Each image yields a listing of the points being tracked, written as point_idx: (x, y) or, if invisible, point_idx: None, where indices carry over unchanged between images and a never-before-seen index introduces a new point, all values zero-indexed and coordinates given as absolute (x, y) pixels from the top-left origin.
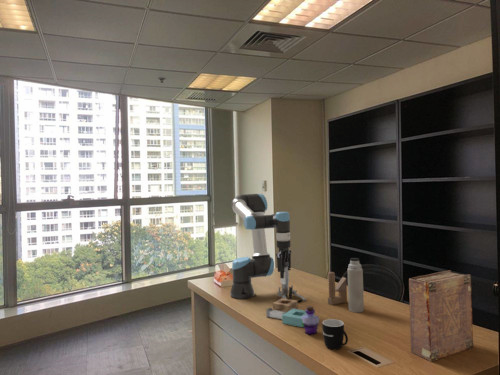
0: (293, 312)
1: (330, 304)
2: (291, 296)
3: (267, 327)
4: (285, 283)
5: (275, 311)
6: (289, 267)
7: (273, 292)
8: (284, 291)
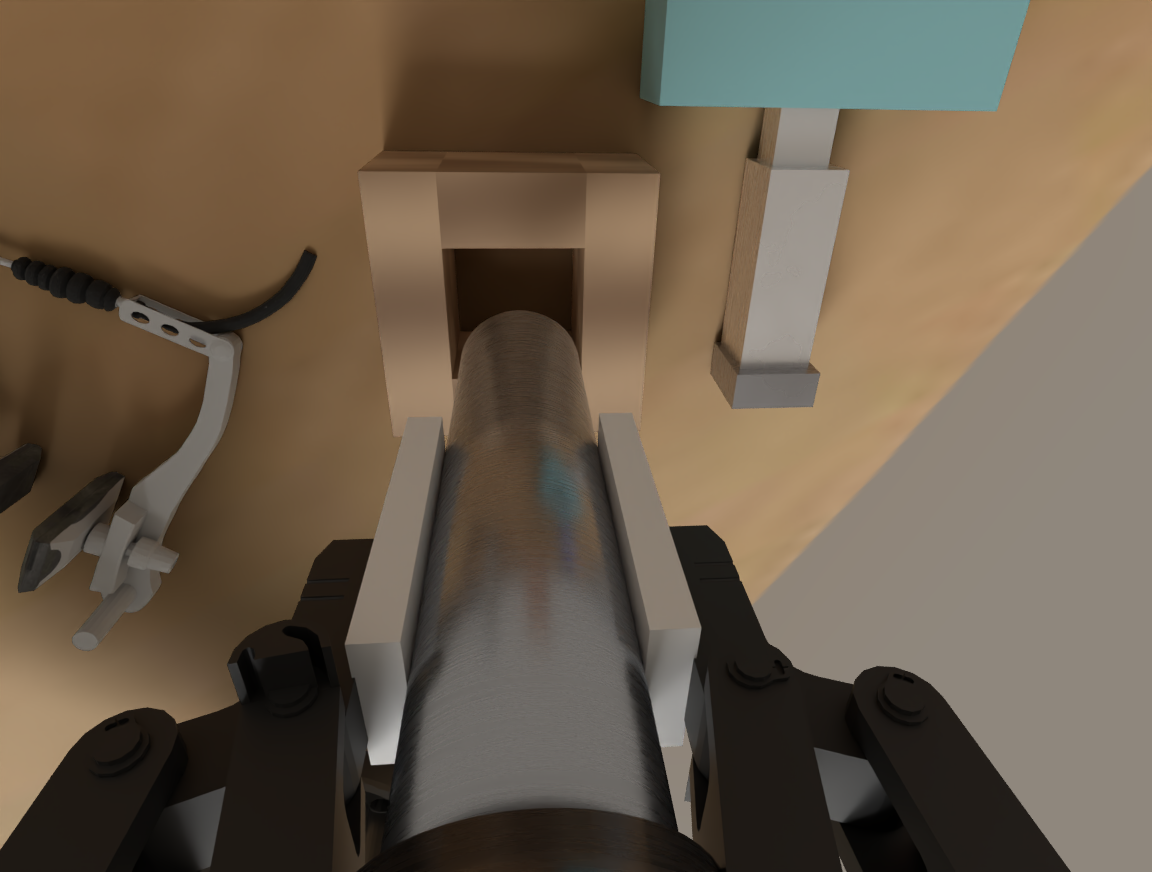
0: (838, 2)
1: None
2: (18, 454)
3: (1080, 205)
4: (607, 420)
5: (794, 298)
6: (182, 755)
7: (29, 682)
8: (581, 371)
